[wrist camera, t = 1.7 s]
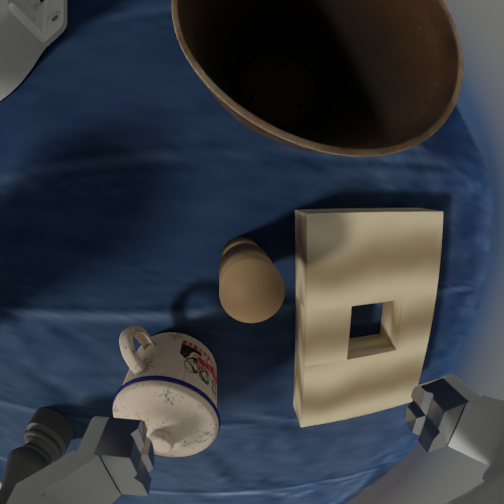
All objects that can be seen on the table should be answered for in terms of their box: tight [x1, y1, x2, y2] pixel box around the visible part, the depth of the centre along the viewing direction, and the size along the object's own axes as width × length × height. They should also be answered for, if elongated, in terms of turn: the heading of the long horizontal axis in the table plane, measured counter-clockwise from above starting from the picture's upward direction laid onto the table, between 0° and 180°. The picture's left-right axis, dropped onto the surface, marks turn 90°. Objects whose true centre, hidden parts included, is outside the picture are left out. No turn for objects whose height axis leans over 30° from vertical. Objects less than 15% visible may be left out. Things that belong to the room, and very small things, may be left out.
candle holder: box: [0, 408, 74, 504], centre depth 19 cm, size 6×6×25 cm
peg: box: [219, 237, 285, 323], centre depth 24 cm, size 4×4×10 cm
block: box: [293, 208, 443, 427], centre depth 29 cm, size 22×14×4 cm, turn 2°
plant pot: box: [172, 0, 463, 157], centre depth 18 cm, size 15×15×16 cm
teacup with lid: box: [112, 326, 220, 457], centre depth 24 cm, size 12×9×12 cm
